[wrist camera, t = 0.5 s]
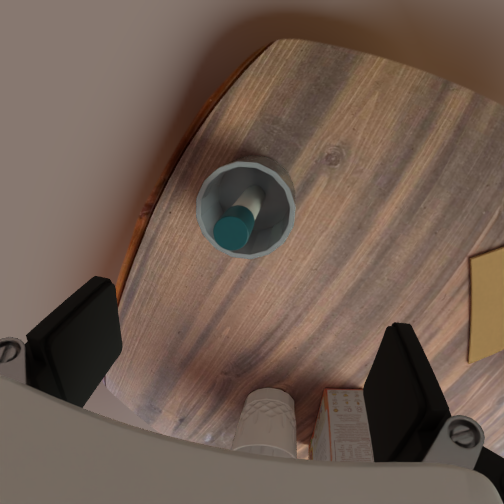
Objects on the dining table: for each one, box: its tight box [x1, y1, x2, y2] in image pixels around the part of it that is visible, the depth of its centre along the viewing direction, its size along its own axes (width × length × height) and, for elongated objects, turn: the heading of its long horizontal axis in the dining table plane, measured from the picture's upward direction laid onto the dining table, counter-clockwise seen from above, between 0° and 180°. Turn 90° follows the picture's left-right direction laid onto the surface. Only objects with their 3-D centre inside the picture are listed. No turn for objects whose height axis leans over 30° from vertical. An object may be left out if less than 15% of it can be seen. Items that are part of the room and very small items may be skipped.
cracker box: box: [309, 388, 374, 462], centre depth 31 cm, size 14×6×21 cm, turn 178°
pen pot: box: [196, 155, 295, 259], centre depth 28 cm, size 8×8×7 cm
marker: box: [213, 185, 265, 251], centre depth 25 cm, size 2×2×12 cm
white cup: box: [231, 388, 297, 459], centre depth 36 cm, size 8×8×10 cm
